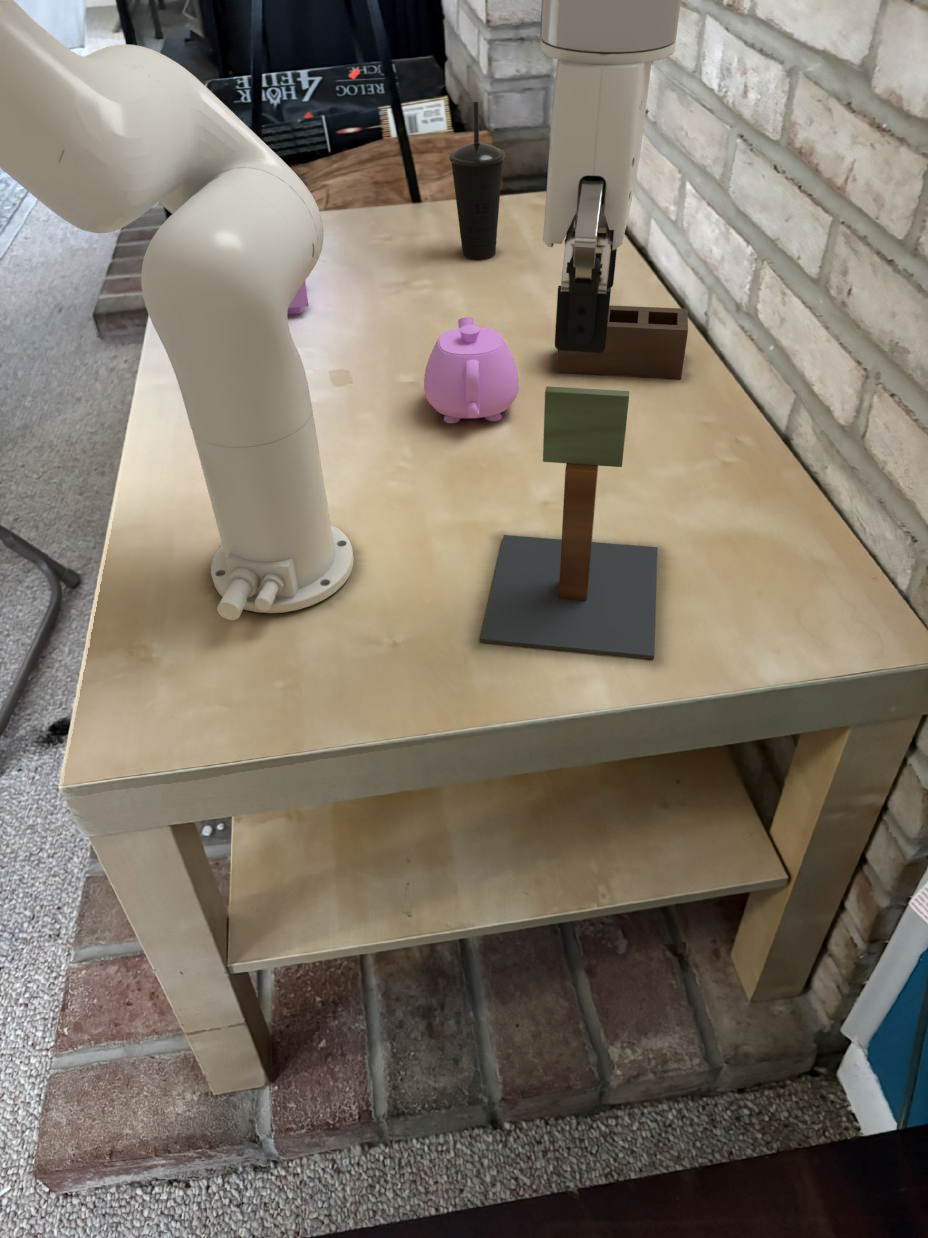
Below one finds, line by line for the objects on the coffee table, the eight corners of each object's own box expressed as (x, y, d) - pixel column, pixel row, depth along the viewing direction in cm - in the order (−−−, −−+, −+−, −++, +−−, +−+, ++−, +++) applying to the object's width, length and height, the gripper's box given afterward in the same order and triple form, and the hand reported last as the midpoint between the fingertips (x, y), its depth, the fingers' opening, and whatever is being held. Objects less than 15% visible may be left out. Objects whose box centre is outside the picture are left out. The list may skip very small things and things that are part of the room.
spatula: (608, 603, 78) (628, 401, 65) (537, 596, 78) (543, 396, 66) (609, 584, 79) (630, 385, 66) (540, 578, 80) (547, 380, 67)
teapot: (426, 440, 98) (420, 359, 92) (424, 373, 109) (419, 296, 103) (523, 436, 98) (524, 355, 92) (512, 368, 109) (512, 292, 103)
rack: (681, 379, 106) (688, 329, 102) (556, 372, 108) (558, 323, 104) (681, 356, 110) (687, 308, 106) (560, 350, 112) (563, 302, 108)
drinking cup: (444, 249, 137) (437, 99, 123) (490, 240, 139) (489, 91, 125) (466, 267, 132) (461, 112, 118) (513, 257, 134) (514, 104, 120)
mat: (653, 659, 73) (654, 655, 73) (480, 642, 75) (480, 638, 75) (656, 550, 83) (657, 546, 83) (503, 537, 85) (503, 534, 85)
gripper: (556, -11, 57) (543, 263, 69) (522, 53, 45) (513, 373, 57) (678, -9, 56) (644, 268, 68) (678, 57, 44) (636, 382, 56)
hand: (585, 316), depth 62 cm, fingers open, 9 cm apart
